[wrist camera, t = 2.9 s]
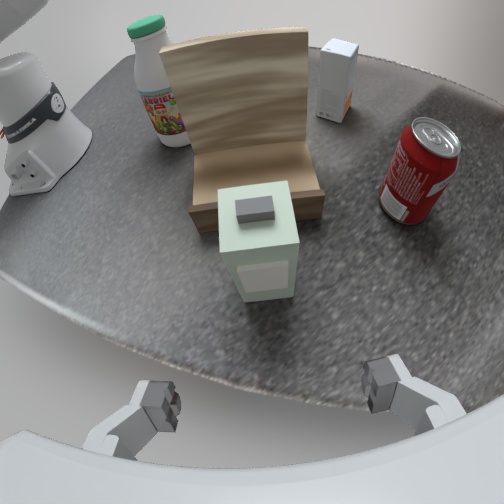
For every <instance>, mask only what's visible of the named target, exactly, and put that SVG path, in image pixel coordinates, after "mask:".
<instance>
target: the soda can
mask: <svg viewBox="0 0 504 504" xmlns="http://www.w3.org/2000/svg"><path fill="white" fill-rule="evenodd" d="M460 151H461V145H460V142H459V140H458V138H457V137H456V135H455V134H454V133H453V132H452V131H451V130H450V129H449V128H448V127H447V126H445V125H444V124H442V123H440V122H439V121H436V120H434V119H431V118H427V117H419V118H416V119H415V120H414V121H413V122H412V125H411V126H409V127H407V128H405V129H404V130H403V132H402V134H401V137H400V140H399V142H398V145H397V148H396V151H395V153H394V156H393V158H392V161H391V164H390V166H389V169H388V171H387V174H386V176H385V179H384V181H383V183H382V186H381V188H380V191H379V199H380V203H381V205H382V207H383V209H384V210H385V212H386V213H387V214H388V215H389V216H390V217H391V218H393V219H394V220H396V221H398V222H400V223H402V224H407V225H414V224H418V223H420V222H421V221H423V220H424V218H425V217H426V216H427V214H428V213H429V211H430V210H431V208H432V207H433V206H434V204H435V203H436V201H437V200H438V198H439V197H440V195H441V194H442V192H443V191H444V189H445V188H446V186H447V185H448V183H449V182H450V180H451V179H452V177H453V175H454V174H455V172H456V171H457V169H458V167H459V153H460Z"/></svg>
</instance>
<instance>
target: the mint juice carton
mask: <svg viewBox="0 0 504 504" xmlns="http://www.w3.org/2000/svg"><path fill="white" fill-rule="evenodd" d="M218 218H219V245H220V254H221V256H222V258H223V260H224V262H225V265H226V267H227V269H228V271H229V273H230V275H231V277H232V279H233V281H234V283H235V285H236V287H237V289H238V292H239V294H240V296H241V298H242V300H243V302H244V303H245V302H254V301H263V300H271V299H280V298H287V297H293V295H294V287H295V278H296V270H297V261H298V252H299V237H298V232H297V227H296V221H295V216H294V211H293V206H292V201H291V196H290V191H289V186H288V181H279V182H270V183H262V184H254V185H246V186H239V187H232V188H225V189H218Z"/></svg>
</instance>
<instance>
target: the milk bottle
mask: <svg viewBox="0 0 504 504" xmlns="http://www.w3.org/2000/svg"><path fill="white" fill-rule="evenodd" d="M166 29H167V28H166V26H165V20H164V17H163V16H162V15H153V16H149V17H146V18H143V19H141V20H139V21H137V22H135V23H133V24H131V25H130V26H129V27H128V28H127V32H128V35H129V37H130V38H131V42H134V45H135V50H136V57H135V67H134V76H135V82H136V86H137V88H138V91H139V93H140V96H141V98H142V101H143V103H144V105H145V108H146V110H147V112H148V115H149V117H150V119H151V121H152V123H153V126H154V128H155V130H156V132H157V134H158V137H159V138H160V140H161V142H162V143H163V144H165V145H166V146H169V147H182V146H186V145H188V144H191V143H190V140H189V137H188V134H187V132H186V129H185V126H184V123H183V121H182V118H181V115H180V112H179V109H178V106H177V104H176V101H175V98H174V95H173V92H172V89H171V87H170V84H169V81H168V78H167V75H166V72H165V69H164V66H163V63H162V61H161V58H160V55H159V52H160V50H161V48H162V47H165V46H168V45H172V44H174V43H173V42H172V41H171V40H170V39H169V37H168V36H167V34H166Z"/></svg>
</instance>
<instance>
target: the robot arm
mask: <svg viewBox="0 0 504 504" xmlns="http://www.w3.org/2000/svg"><path fill="white" fill-rule="evenodd" d="M47 2H48V0H0V43H1V42H2V41H3V40H4V39H5V38H7V37H8V36H9V35H10V34H12V33H13V32H14V31H16V30H17V29H18V28H19V27H21V26H22V25H24V24H25V23H26V22H27V21H28V20H29V19H31V18H32V17H33V16H34V15H35V14H36V13H37V12H38V11H40V10H41V9H42V8H43V7H44V6H45V5H46V4H47ZM0 121H1V123H2V124H3V125H4V126H3V129H2V130H1V132H0V134H1V133H2V132H3V134H2V136H1V138H3V136H4V134H5V135H6V138H7V141H8V143H9V144H8V149H7V154H6V159H5V165H4V168H5V172H6V174H7V175H8V176H9V178H10V179H11V184H10V189H9V193H10V195H11V196H18V195H25V194H32V193H39V192H47V191H49V190H51V189H52V188H53V186H54V185H55V184H56V183H57V181H58V180H59V179H60V177H61V176H62V175H64V174H65V173H66V172H67V171H68V170H69V169H70V168H72V167H73V166H74V165H75V164H76V162H77V161H78V160H79V159H80V158H81V157H82V155H83V154H84V153H85V151H86V149H87V148H88V146H89V144H90V141H91V138H92V132H91V130H90V129H89V128H88V127H86V126H85V125H84V124H83V123H82V122H80V121H79V120H78V119H77V118H76V116H75V115H74V114H73V113H72V112H71V111H70V110H69V109H68V107H67V106H66V105H65V103H64V100H63V97H62V95H61V94H60V92H59V90H58V89H57V87H56V86H55V84H54V83H53V82H50V81H49V79H48V77H47V75H46V74H45V72H44V70H43V68H42V67H41V65H40V63H39V61H38V60H37V58H36V56H35V55H33V54H31V53H28V52H22V53H18V54H14V55H11V56H8V57H5V58H2V59H0ZM363 369H364V372H365V373H364V374H363V375H362V380H361V384H362V390H363V393H364V396H366V397H368V401H367V404H368V407H369V409H370V412H371V414H373V413H378V412H382V411H386V410H390V411H391V412H392V413H394V414H395V415H396V416H398V417H399V418H400V419H402V420H403V421H405V422H406V423H407V424H408V425H410V426H411V427H413V428H414V429H415V430H416V432H415V434H414V436H413V437H410V438H408V439H405V440H402V441H399V442H395V443H392V444H389V445H386V446H382V447H379V448H375V449H371V450H368V451H364V452H359V453H355V454H351V455H346V456H342V457H337V458H331V459H326V460H320V461H315V462H308V463H300V464H292V465H283V466H271V467H257V468H199V467H183V466H172V465H163V464H154V463H147V462H140V461H138V460H137V459H136V458H135V457H134V456H135V455H136V454H137V453H138V452H139V451H140V450H141V449H142V448H143V447H144V446H145V445H146V444H147V443H148V442H149V441H150V440H151V439H152V438H153V437H154V436H155V435H156V434H157V432H175V431H176V427H177V423H178V420H177V418H176V416H178V415H179V414H180V411H181V400H180V397H179V394H178V393H176V392H175V391H174V390H175V386H174V383H173V382H171V381H147V380H141V381H139V382H138V385H137V387H136V389H135V392H134V394H133V396H132V398H131V401H130V403H129V405H125V406H124V407H122V408H121V409H120V410H118V411H117V412H115V413H114V414H112V415H111V416H110V417H108V418H107V419H105V420H104V421H102V422H101V423H100V424H98V425H97V426H96V427H94V428H92V429H91V430H90V432H89V434H88V436H87V438H86V440H85V443H84V445H83V447H82V449H81V448H77V447H74V446H71V445H67V444H64V443H61V442H58V441H55V440H52V439H50V438H47V437H44V436H41V435H39V434H36V433H34V432H31V431H28V430H22V431H20V432H17V433H15V434H13V435H11V436H9V437H8V438H6V439H4V440H2V441H1V442H0V504H504V394H503V395H501V396H499V397H498V398H496V399H494V400H493V401H491V402H489V403H487V404H485V405H483V406H482V407H480V408H478V409H476V410H474V411H472V412H470V413H468V414H466V412H465V411H464V409H463V407H462V406H461V404H460V403H459V401H458V399H457V398H456V396H454V395H452V394H450V393H448V392H446V391H444V390H442V389H439V388H437V387H435V386H433V385H431V384H429V383H427V382H425V381H423V380H421V379H419V378H417V377H412V376H411V375H410V373H409V371H408V370H407V368H406V366H405V365H404V363H403V361H402V360H401V358H400V357H399V355H398V354H394V355H390V356H386V357H382V358H378V359H374V360H370V361H365V362H364V366H363Z"/></svg>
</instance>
